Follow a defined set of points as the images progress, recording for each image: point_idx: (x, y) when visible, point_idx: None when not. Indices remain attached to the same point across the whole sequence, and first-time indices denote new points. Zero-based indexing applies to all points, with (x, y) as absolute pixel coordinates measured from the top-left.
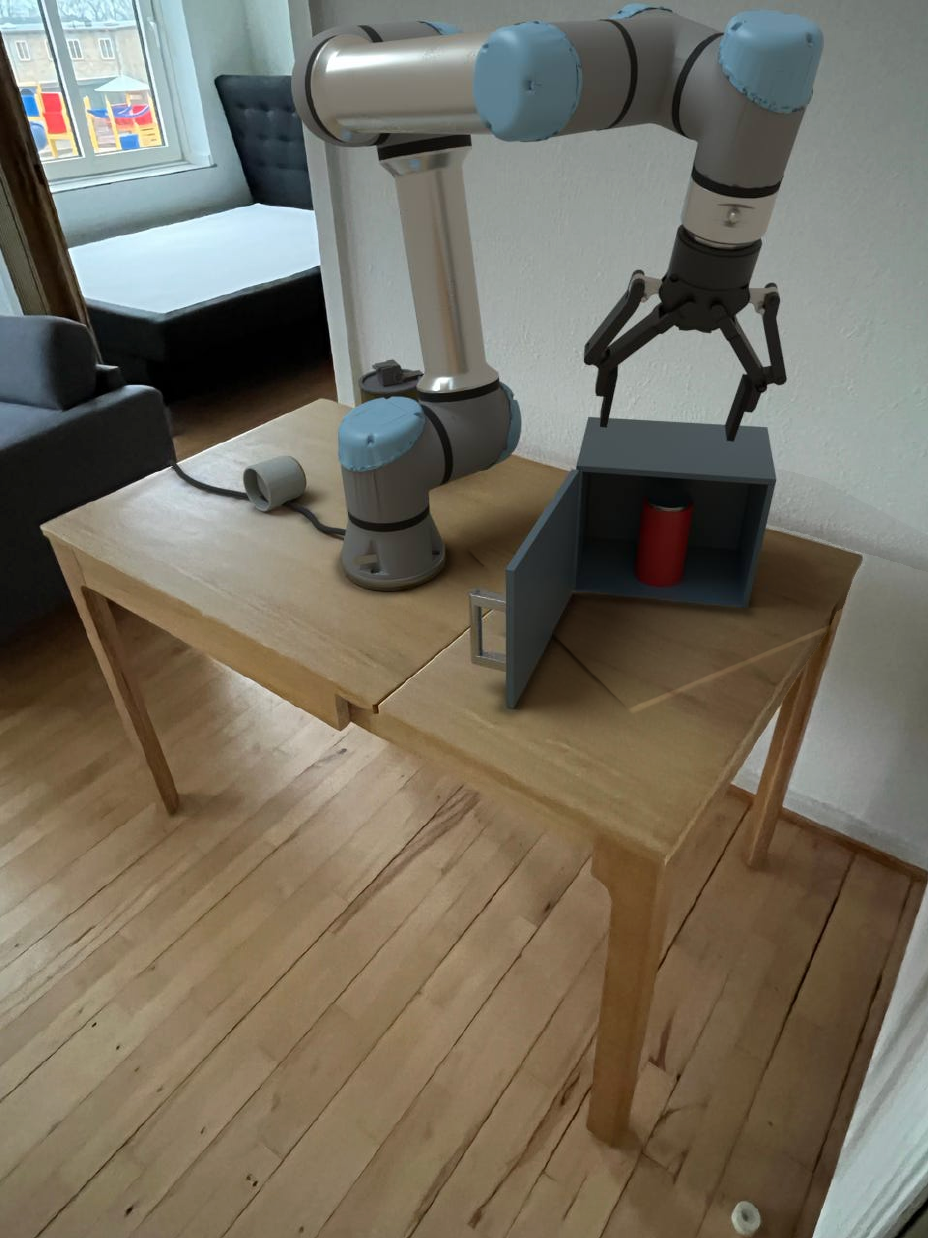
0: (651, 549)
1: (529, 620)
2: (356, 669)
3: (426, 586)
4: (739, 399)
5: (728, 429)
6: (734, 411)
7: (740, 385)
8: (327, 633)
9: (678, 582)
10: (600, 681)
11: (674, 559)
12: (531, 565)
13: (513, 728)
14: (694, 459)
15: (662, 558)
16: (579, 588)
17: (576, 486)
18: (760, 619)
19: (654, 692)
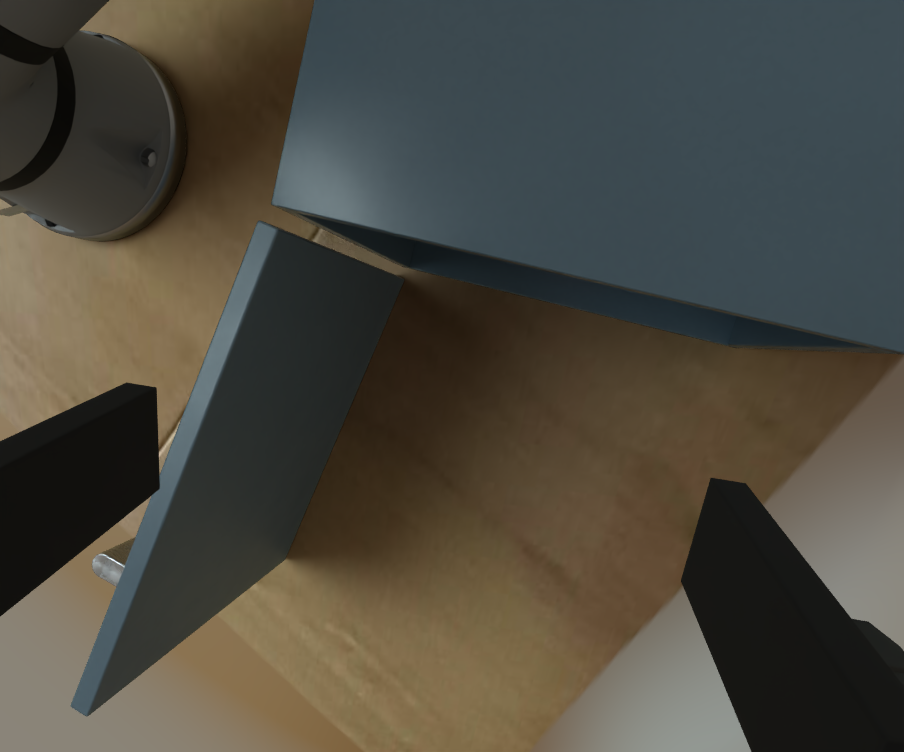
0: None
1: (246, 543)
2: None
3: (159, 226)
4: (773, 736)
5: (700, 576)
6: (738, 646)
7: (827, 706)
8: (24, 351)
9: None
10: (420, 512)
11: None
12: (169, 587)
13: (283, 595)
14: (659, 180)
15: None
16: (418, 261)
17: (289, 258)
18: (756, 372)
19: (501, 549)
